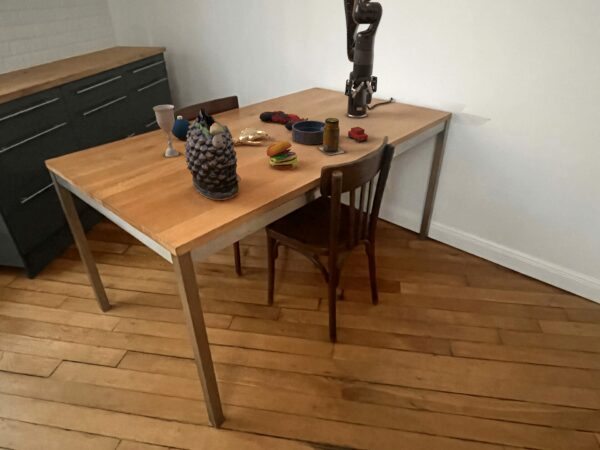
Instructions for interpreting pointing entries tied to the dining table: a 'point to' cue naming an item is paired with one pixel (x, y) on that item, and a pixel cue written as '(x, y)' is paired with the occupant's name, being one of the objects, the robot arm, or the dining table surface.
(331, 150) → the condiment
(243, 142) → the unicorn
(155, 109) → the chalice
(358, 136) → the toy car
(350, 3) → the robot arm
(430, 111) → the dining table surface
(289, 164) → the cheeseburger
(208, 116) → the pinecone ceramic vase
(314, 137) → the bowl
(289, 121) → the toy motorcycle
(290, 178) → the dining table surface
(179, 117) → the christmas ornament
